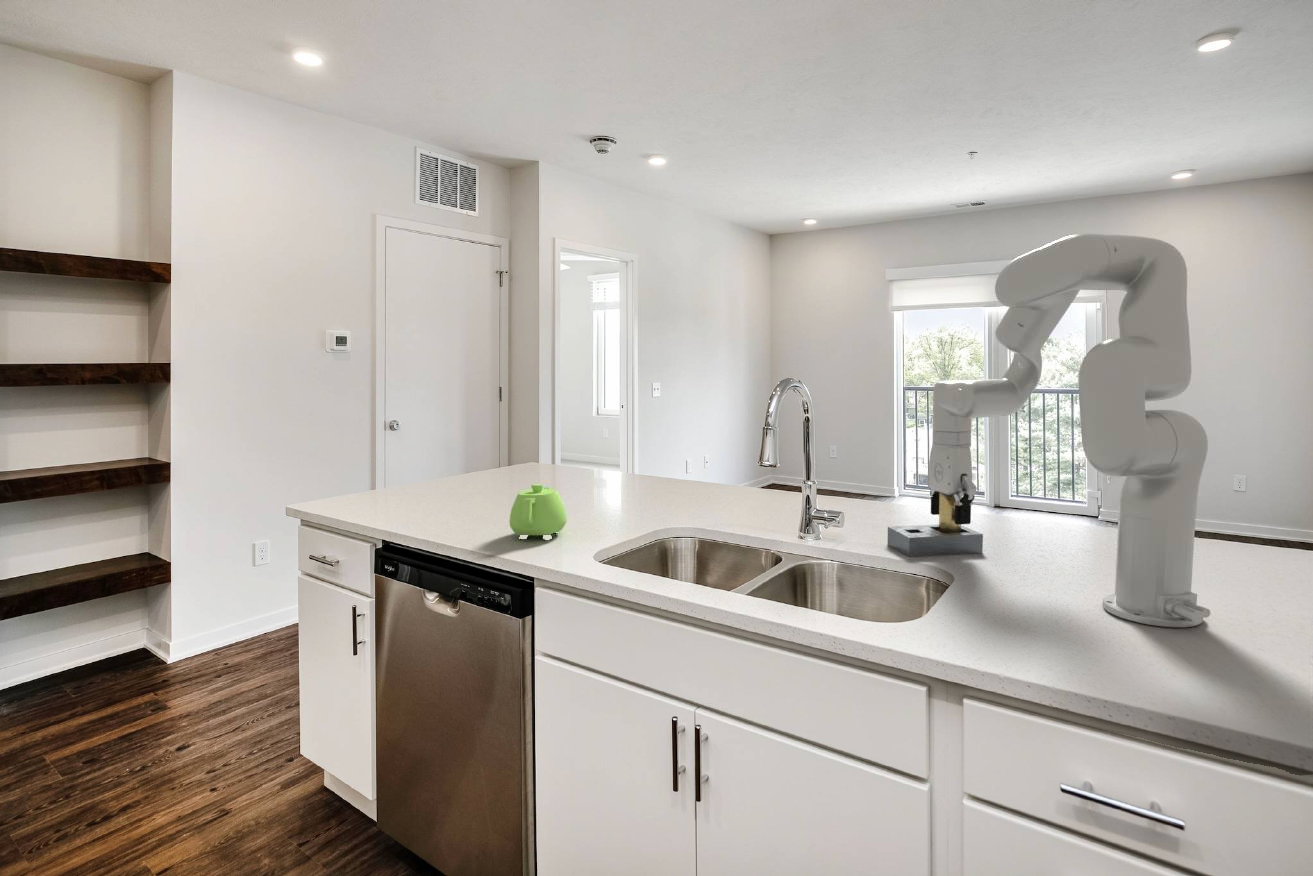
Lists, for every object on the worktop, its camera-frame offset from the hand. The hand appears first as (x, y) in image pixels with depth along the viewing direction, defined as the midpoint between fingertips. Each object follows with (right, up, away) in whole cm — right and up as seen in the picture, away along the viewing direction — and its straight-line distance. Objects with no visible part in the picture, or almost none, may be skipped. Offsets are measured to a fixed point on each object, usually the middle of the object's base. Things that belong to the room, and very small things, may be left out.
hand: (949, 519), depth 146 cm
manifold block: (-3, -6, 0) cm, 7 cm away
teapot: (-91, -7, +19) cm, 93 cm away
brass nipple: (0, -6, +1) cm, 6 cm away
